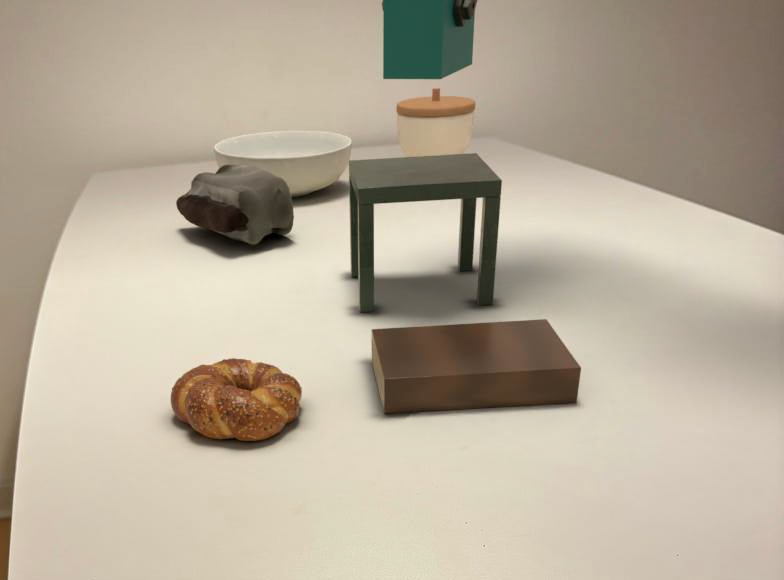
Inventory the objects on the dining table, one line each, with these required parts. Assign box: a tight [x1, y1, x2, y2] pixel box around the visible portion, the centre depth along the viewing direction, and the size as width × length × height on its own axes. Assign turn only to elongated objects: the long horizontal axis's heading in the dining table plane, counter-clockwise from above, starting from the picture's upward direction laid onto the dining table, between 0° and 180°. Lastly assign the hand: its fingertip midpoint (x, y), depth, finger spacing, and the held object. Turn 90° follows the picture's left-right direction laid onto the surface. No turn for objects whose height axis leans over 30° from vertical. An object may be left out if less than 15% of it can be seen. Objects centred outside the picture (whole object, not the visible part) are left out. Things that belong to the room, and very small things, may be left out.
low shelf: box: [371, 318, 582, 414], centre depth 82 cm, size 16×12×3 cm
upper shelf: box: [348, 152, 503, 313], centre depth 101 cm, size 14×14×12 cm
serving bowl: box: [213, 130, 353, 198], centre depth 144 cm, size 21×21×7 cm
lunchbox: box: [382, 0, 476, 80], centre depth 86 cm, size 10×6×8 cm, turn 156°
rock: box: [175, 165, 295, 246], centre depth 124 cm, size 18×11×8 cm, turn 31°
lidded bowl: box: [395, 87, 476, 157], centre depth 154 cm, size 13×13×11 cm
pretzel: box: [170, 357, 303, 442], centre depth 78 cm, size 12×11×4 cm
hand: (424, 19), depth 85 cm, fingers closed on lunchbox, 5 cm apart
